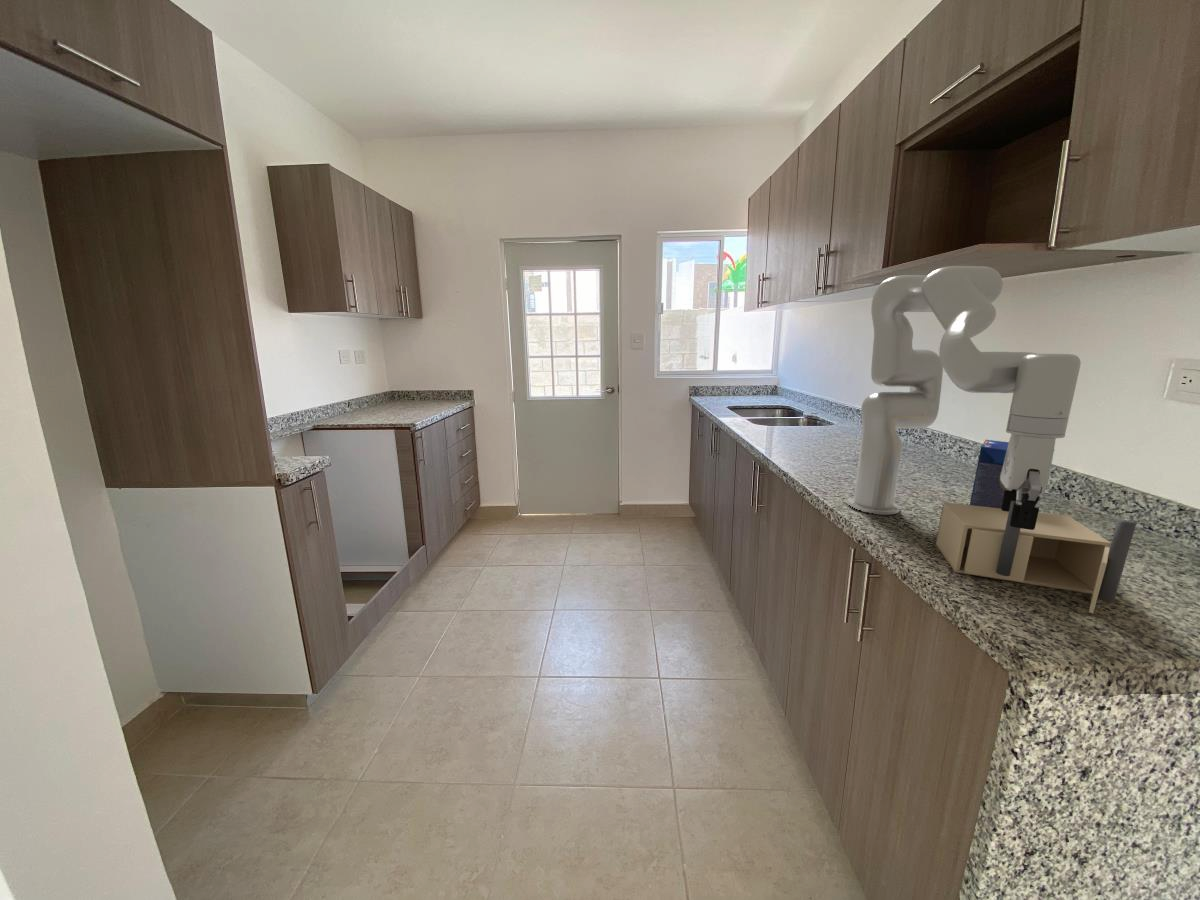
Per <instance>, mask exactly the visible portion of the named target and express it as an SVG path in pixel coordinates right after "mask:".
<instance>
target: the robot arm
mask: <svg viewBox="0 0 1200 900" xmlns="http://www.w3.org/2000/svg"><path fill="white" fill-rule="evenodd" d="M1002 289H1003V278H1002V276H1001V274H1000V273H999V272H998V271H997V270H996V269H995V268H993V267H990V266H986V265H984V266H983V265H982V266H981V265H978V266H977V265H970V266H969V265H949V266H944V267H943V266H942V267H940V268H936V269H935V270H933V271H931V272H930V273H929V274H927V275H925V274H904V275H903V274H901V275H896V276H892V277H888V278H887V279H885V280H883V281H882V282H880V284H879V285H878V286H877V288H876V290H875V291H874V294H873V296H872V299H871V310H870V312H871V320H872V325H873V343H872V353H871V354H872V356H871V368H870V372H871V375H870V376H871V380H872V382H873V384H875V385H877V386H881V387H891V388H892V387H896V388H897V387H898V388H900V387H901V388H902V387H903V388H905V387H906V388H907V387H908V388H909V391H881V392H875V393H872V394H870V395H868V396H867V397H865V398H864V400H863V402H862V404H861V410H860V413H861V414H860V416H861V426H862V427H861V440H860V447H859V449H860V450H859V456H858V465H857V471H856V478H855V479H856V480H855V487H854V493H853V496H849V497H848V498H847V500H846V504H847V505H848V506H849V505H850V506H851V507H850V506H849V507H850V508H852V507H853V508H852V509H854V508H855V509H854V510H856V509H857V511H859V510H861V512H863V513H867V512H868V513H869V514H872V513H873V514H872V515H879V516H880V515H882V516H883V515H884V516H885V515H886V516H889V515H896V514H898V513H900V510H901V507H900V504H899V505H898V504H897V503H896V502H895V499H896V498H895V497H896V493H897V492H896V491H897V485H898V477H899V473H900V466H901V460H902V452H903V442H902V441H901V438H900V436H899V434H898V433H897V429H898V430H899V429H924V428H928V427H930V426H932V425H933V424H934V423H935V421H936V419H937V417H938V414H939V410H940V402H941V393H942V392H941V391H942V383H943V374H944V371H945V373H946V374H947V376H948V377H949V380H950V381H951V382H952V383H953V384H954V385H955V386H956V387H957V388H958V389H960V390H961V391H964V392H968V393H972V394H973V393H975V394H976V393H978V394H979V393H980V394H982V393H983V394H984V393H986V394H993V393H997V394H999V393H1000V394H1012V398H1011V403H1010V409H1009V415H1008V419H1007V425H1006V429H1005V432H1006V433H1007V434H1011V435H1010V437H1009V440H1008V442H1009V443H1008V447H1007V451H1006V455H1005V459H1004V463H1003V467H1002V471H1001V475H1000V480H1001V482H1002V483H1003V485H1004V486H1005V488H1006V490H1004V495H1003V501H1002V506H1001V509H1002V510H1003V511H1007V512H1009V509H1010V505H1011V501H1016V504H1014V505H1013V510H1012V515H1011V519H1010V526H1012V527H1016V528H1023V529H1029V530H1034V529H1035V526H1036V521H1037V516H1038V513H1040V512H1039V511H1040V504H1041V503H1040V502H1041V501H1040V500H1041V495H1042V494H1044V493H1045V492H1046V490H1047V486H1048V482H1049V478H1050V475H1051V469H1052V466H1053V465H1052V464H1053V459H1054V452H1055V448H1056V447H1055V446H1056V439H1063V438H1065V437H1066V433H1067V427H1068V423H1069V418H1070V413H1071V409H1072V405H1073V401H1074V396H1075V391H1076V387H1077V382H1078V378H1079V373H1080V368H1081V364H1082V363H1081V358H1080V357H1079V356H1077V354H1076V355H1075V354H1071V353H1036V352H1035V353H1034V352H1027V351H1025V352H1024V351H981V350H979V349H978V348H977V347H976V345H975V344H974V342H973V341H972V339H971V338H974V337H976V336H977V335H979V334H981V333H983V332H984V331H986V330H987V329H988V328H989V327H990V326H991V325H992V324H993V323H994V321H995V319H996V317H997V310H996V308H995V306H994V305H993V304H992V303H993V302H995V301H996V300H997V299H998V298H999V297H1000V295H1001V292H1002ZM907 312H908V313H909V312H910V313H933V315H934V316H935V318H936V319H937V320H938V322H939V323H940V325H941V326H942V328H943V329H944V333H943V334H942V336H941V340H940V343H939V349H938V350H939V351H938V352H939V355H938V354H937V352H935V351H933V350H930V349H914V348H913V339H914V330H913V327H912V324H911V323H910V321H909V319H908V318H907V316H905V314H904V313H907Z"/></svg>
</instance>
